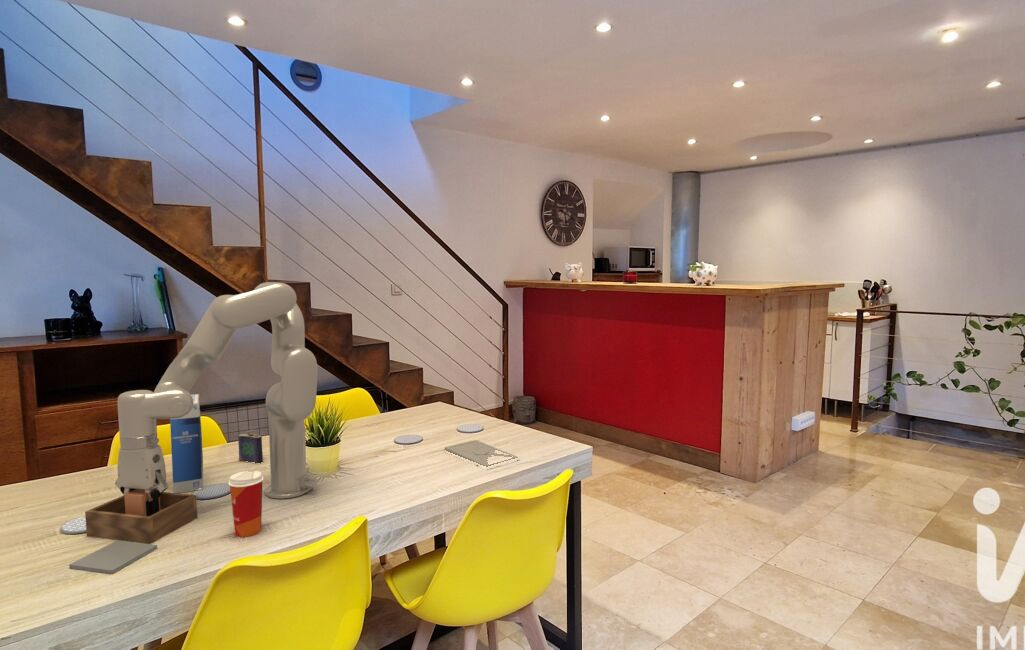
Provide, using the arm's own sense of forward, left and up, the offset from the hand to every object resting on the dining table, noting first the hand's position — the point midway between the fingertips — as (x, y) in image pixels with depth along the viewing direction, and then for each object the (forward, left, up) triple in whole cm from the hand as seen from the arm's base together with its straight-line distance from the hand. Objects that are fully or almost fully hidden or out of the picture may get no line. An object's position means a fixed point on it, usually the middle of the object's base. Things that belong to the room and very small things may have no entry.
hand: (143, 513), depth 134 cm
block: (0, 0, 0) cm, 0 cm away
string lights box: (+11, -26, -4) cm, 28 cm away
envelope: (-67, -69, -4) cm, 96 cm away
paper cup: (-27, -3, -4) cm, 27 cm away
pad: (-7, +14, -3) cm, 16 cm away
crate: (0, 0, -3) cm, 3 cm away
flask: (+7, -48, -4) cm, 49 cm away
